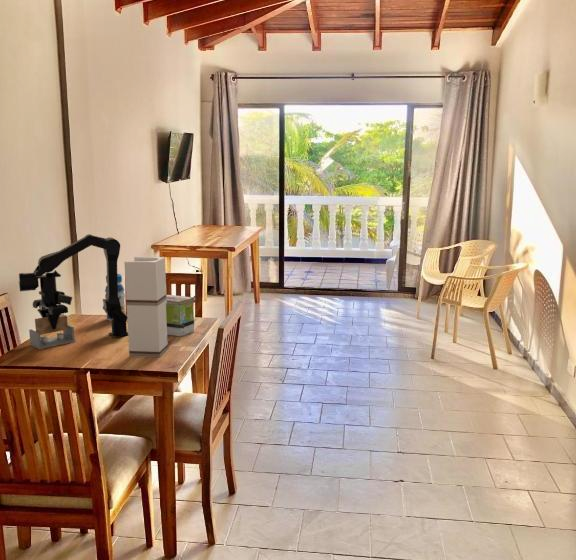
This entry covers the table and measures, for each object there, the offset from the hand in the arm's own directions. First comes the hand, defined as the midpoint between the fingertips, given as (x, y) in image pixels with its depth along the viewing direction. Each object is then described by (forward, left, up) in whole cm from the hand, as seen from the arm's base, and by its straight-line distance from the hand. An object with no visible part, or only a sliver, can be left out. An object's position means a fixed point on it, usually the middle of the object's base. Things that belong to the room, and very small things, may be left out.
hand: (51, 328), depth 245 cm
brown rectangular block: (0, 0, -1) cm, 1 cm away
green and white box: (-20, -42, -6) cm, 47 cm away
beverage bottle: (+16, -36, -6) cm, 40 cm away
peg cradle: (0, 0, -6) cm, 6 cm away
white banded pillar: (-37, -20, -6) cm, 43 cm away
